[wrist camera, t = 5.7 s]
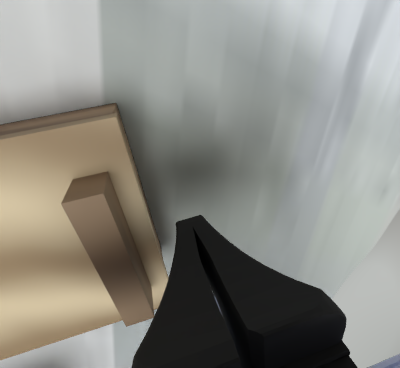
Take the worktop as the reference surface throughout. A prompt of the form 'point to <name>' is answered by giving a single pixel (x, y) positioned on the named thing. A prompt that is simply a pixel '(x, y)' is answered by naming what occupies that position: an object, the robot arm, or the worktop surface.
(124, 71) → the worktop surface
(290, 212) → the worktop surface
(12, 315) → the lid
